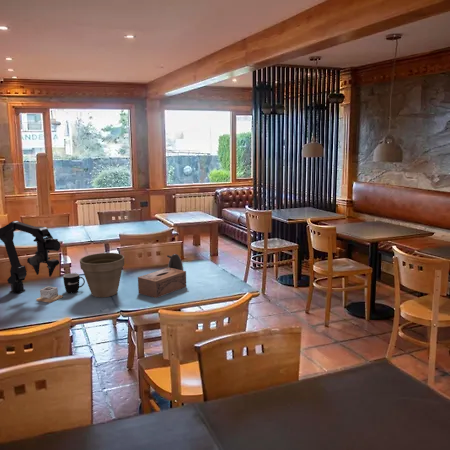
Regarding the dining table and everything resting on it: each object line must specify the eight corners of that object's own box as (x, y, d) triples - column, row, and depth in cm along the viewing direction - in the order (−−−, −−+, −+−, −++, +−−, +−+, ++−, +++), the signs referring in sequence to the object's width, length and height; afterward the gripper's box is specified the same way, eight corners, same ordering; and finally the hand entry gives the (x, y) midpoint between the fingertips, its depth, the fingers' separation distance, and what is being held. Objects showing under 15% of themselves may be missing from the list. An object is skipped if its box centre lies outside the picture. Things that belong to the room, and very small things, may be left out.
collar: (40, 298, 273) (40, 289, 272) (48, 294, 279) (48, 286, 278) (50, 299, 271) (49, 291, 270) (58, 295, 277) (57, 287, 276)
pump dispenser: (168, 274, 322) (168, 252, 319) (184, 274, 321) (183, 252, 318) (166, 278, 311) (165, 255, 309) (182, 279, 311) (181, 256, 308)
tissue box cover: (169, 282, 304) (168, 267, 302) (186, 287, 296) (185, 271, 294) (138, 293, 284) (137, 277, 282) (156, 298, 275) (155, 281, 274)
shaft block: (36, 300, 272) (35, 290, 271) (48, 295, 281) (47, 285, 280) (50, 302, 269) (50, 292, 268) (62, 297, 278) (62, 287, 277)
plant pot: (85, 303, 267) (83, 265, 263) (78, 290, 289) (76, 255, 285) (130, 296, 278) (128, 260, 274) (120, 285, 299) (118, 250, 295)
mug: (65, 295, 281) (64, 278, 280) (63, 290, 289) (62, 274, 287) (86, 291, 287) (85, 275, 285) (83, 287, 295) (82, 271, 293)
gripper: (19, 250, 273) (20, 277, 276) (45, 254, 266) (46, 281, 269) (33, 246, 283) (35, 272, 286) (59, 249, 276) (60, 276, 279)
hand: (43, 275), depth 280 cm, fingers open, 9 cm apart
